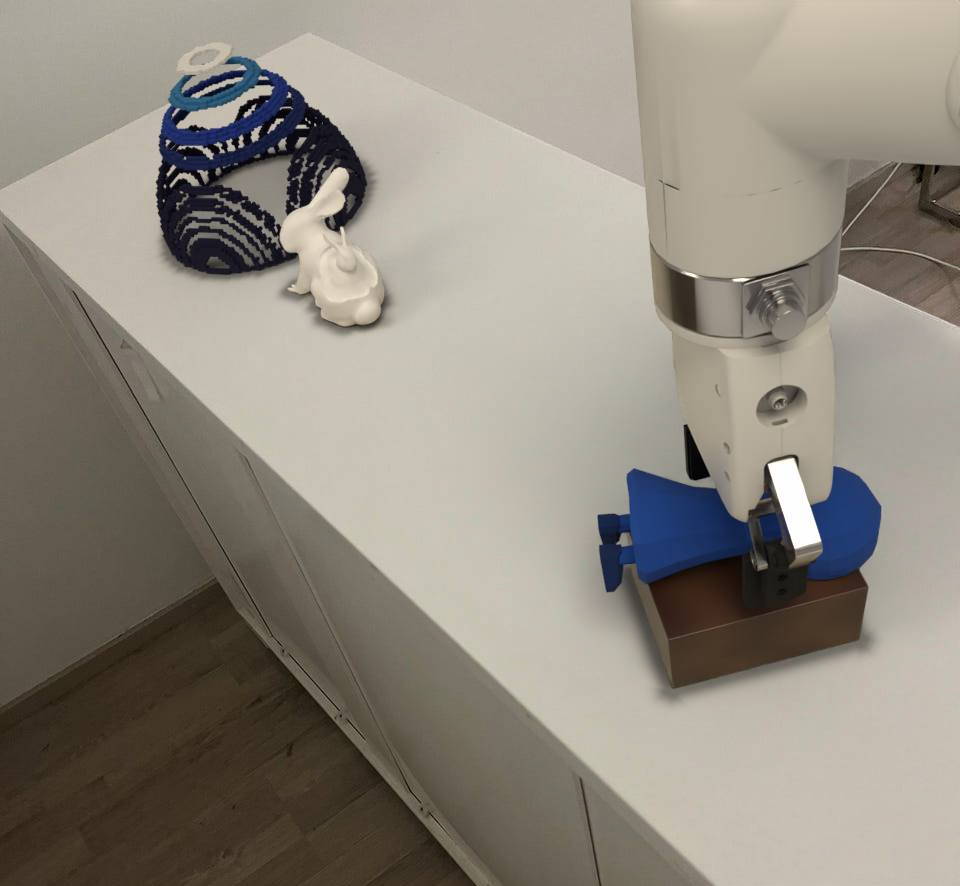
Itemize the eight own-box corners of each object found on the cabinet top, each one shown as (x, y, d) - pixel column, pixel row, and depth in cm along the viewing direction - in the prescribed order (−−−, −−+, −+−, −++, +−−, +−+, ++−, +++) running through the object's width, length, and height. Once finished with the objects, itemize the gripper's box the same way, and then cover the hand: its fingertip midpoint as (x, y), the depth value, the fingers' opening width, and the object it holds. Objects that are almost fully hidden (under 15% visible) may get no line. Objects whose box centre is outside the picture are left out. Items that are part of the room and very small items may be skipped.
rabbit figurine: (286, 289, 89) (243, 189, 82) (356, 248, 91) (320, 145, 83) (351, 348, 83) (311, 245, 75) (425, 303, 84) (394, 197, 76)
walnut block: (802, 527, 63) (807, 471, 59) (859, 640, 57) (869, 587, 53) (631, 573, 63) (624, 521, 59) (672, 689, 58) (668, 640, 54)
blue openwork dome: (312, 278, 89) (250, 120, 78) (133, 269, 97) (52, 123, 85) (396, 151, 99) (352, -7, 88) (228, 151, 106) (167, 5, 95)
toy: (609, 619, 56) (892, 584, 53) (592, 549, 51) (902, 506, 48) (604, 527, 60) (867, 490, 57) (588, 454, 55) (874, 409, 52)
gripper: (926, 365, 36) (874, 636, 50) (761, 133, 46) (756, 410, 60) (721, 423, 36) (726, 676, 50) (603, 180, 47) (634, 445, 60)
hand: (742, 531), depth 55 cm, fingers open, 9 cm apart
